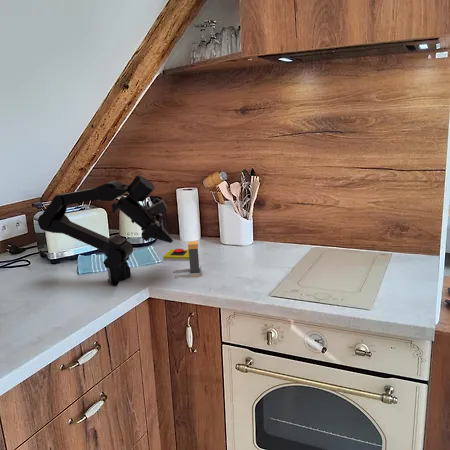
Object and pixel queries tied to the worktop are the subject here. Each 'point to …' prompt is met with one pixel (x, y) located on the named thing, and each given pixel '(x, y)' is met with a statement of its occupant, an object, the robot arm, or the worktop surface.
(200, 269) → the breaker panel
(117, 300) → the worktop surface
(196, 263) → the toggle
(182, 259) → the emergency button
